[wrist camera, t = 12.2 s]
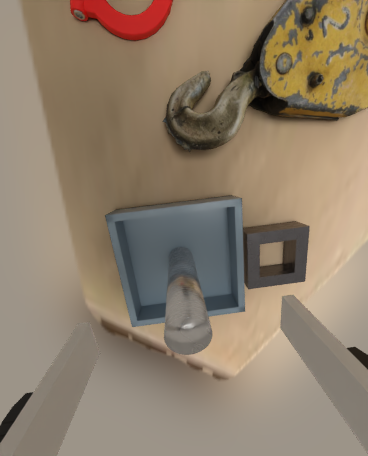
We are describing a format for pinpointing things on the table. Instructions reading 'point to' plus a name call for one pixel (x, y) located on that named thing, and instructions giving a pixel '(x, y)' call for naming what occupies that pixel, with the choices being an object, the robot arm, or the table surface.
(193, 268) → the pin
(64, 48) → the table surface
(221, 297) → the parts tray
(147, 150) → the table surface
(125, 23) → the tow hook
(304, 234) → the bracket
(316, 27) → the pulley block
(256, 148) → the table surface
